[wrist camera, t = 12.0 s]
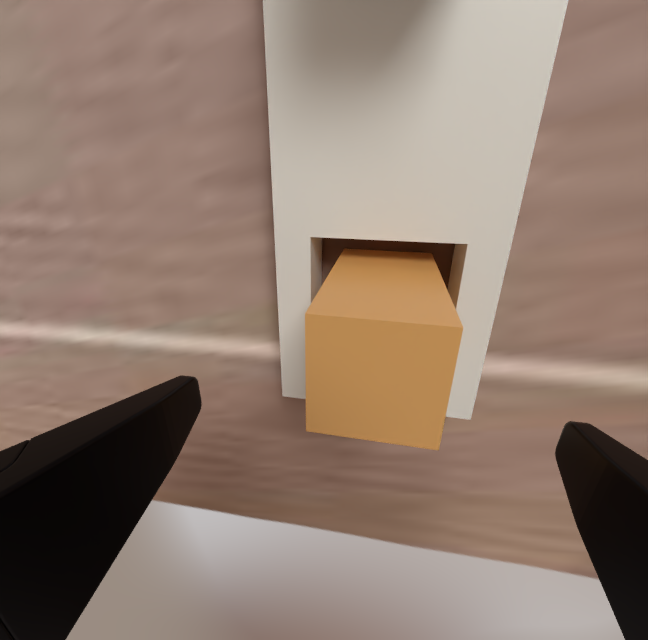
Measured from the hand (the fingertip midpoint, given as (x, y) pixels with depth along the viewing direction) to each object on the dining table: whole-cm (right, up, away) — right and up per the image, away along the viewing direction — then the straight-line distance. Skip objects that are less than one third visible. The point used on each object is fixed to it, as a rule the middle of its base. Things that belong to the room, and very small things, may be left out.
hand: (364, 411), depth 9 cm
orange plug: (+2, +4, +8) cm, 9 cm away
